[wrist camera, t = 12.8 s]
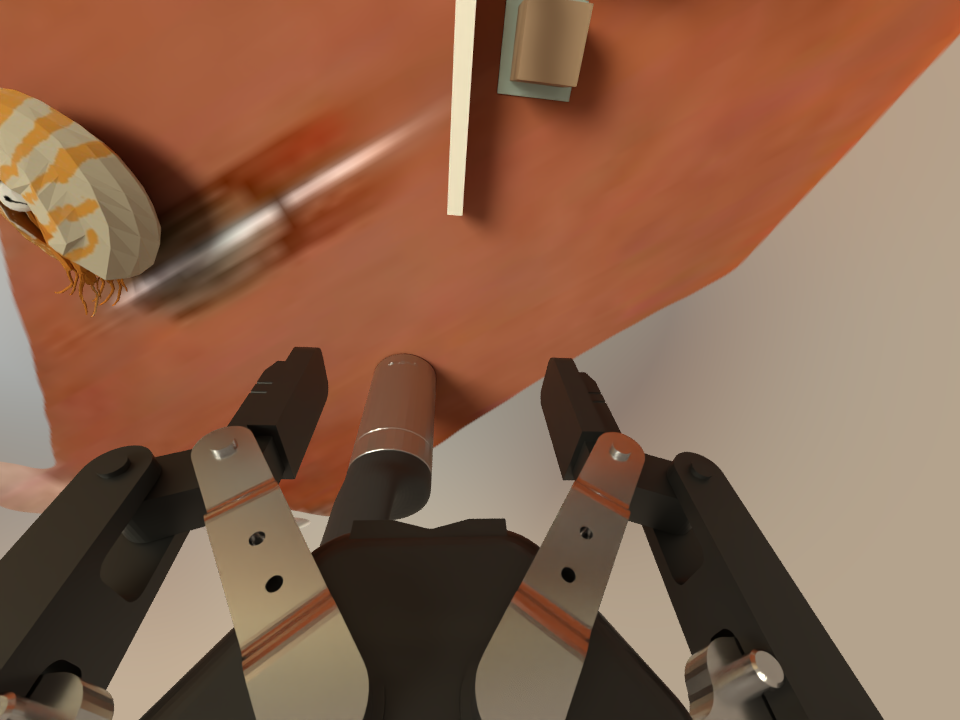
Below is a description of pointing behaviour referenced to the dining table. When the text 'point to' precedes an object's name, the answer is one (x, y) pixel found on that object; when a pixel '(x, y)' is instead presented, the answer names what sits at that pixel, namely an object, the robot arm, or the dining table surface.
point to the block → (550, 42)
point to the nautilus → (73, 196)
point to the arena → (463, 86)
